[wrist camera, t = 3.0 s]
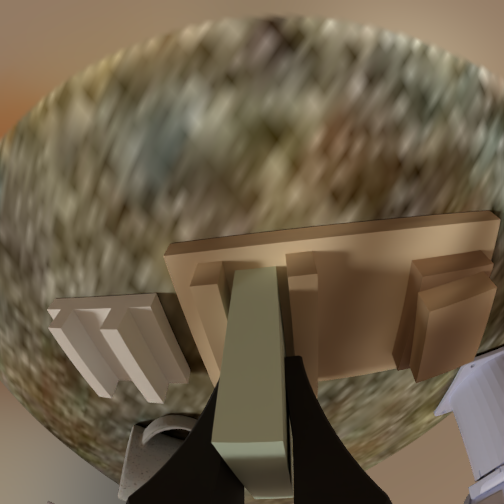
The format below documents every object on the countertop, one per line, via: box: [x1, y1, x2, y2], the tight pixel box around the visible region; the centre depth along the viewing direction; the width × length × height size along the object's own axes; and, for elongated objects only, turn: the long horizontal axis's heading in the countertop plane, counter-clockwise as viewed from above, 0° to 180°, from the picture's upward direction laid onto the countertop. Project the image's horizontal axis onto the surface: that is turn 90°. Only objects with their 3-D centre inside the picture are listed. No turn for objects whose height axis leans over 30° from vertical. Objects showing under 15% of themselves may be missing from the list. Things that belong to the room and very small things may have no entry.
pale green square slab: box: [211, 266, 293, 499], centre depth 10 cm, size 2×7×7 cm, turn 9°
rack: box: [164, 211, 501, 398], centre depth 13 cm, size 15×9×2 cm, turn 98°
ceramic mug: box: [118, 415, 197, 501], centre depth 19 cm, size 11×8×8 cm
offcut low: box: [392, 250, 494, 371], centre depth 12 cm, size 4×6×1 cm, turn 9°
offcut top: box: [409, 271, 497, 383], centre depth 11 cm, size 4×5×1 cm
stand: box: [47, 293, 191, 403], centre depth 15 cm, size 7×6×2 cm
